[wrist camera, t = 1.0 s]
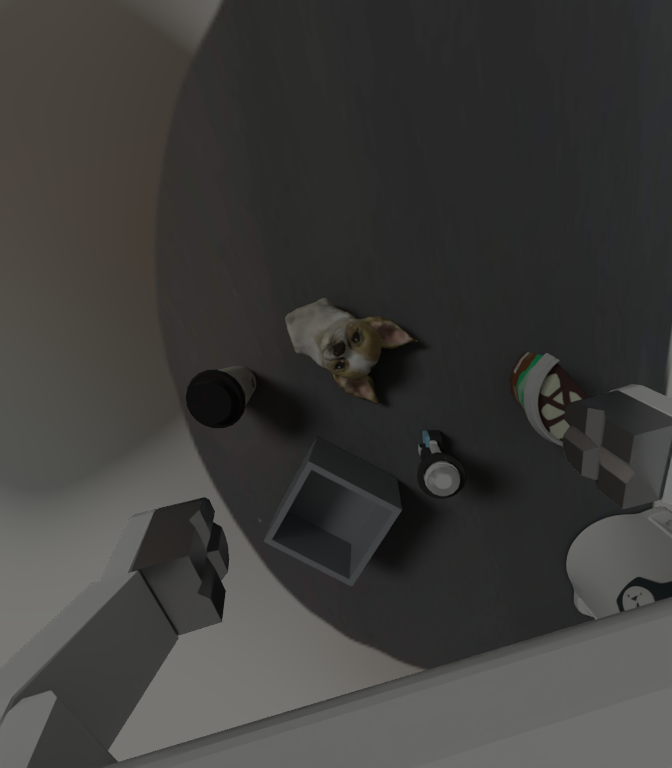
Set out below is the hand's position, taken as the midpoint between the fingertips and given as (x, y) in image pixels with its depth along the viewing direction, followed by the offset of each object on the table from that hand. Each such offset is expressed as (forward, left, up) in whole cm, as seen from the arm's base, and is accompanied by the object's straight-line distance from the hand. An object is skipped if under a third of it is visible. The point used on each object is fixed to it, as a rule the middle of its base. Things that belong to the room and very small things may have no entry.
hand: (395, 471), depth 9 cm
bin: (-7, +23, -42) cm, 48 cm away
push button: (-15, +11, -42) cm, 46 cm away
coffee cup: (+12, +15, -42) cm, 46 cm away
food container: (-22, -2, -42) cm, 47 cm away
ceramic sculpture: (+2, +4, -42) cm, 42 cm away
